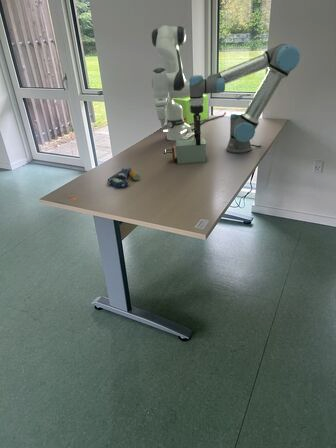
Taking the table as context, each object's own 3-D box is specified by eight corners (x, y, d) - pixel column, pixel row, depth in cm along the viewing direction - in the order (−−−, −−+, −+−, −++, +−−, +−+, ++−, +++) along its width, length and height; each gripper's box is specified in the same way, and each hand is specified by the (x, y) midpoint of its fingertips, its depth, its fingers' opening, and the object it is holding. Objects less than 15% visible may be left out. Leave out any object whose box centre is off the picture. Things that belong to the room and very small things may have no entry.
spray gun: (146, 174, 192) (124, 172, 198) (145, 167, 190) (123, 165, 196) (127, 190, 176) (104, 187, 183) (125, 183, 174) (102, 180, 181)
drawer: (164, 162, 204) (163, 148, 199) (164, 157, 212) (163, 143, 207) (199, 160, 203) (199, 145, 198) (198, 155, 211) (198, 140, 206)
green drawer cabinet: (177, 163, 203) (176, 145, 198) (177, 157, 212) (176, 140, 207) (206, 161, 203) (205, 143, 197) (204, 155, 212) (204, 138, 206)
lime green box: (191, 115, 302) (190, 88, 290) (208, 118, 288) (208, 90, 276) (170, 121, 289) (168, 93, 277) (187, 125, 275) (185, 95, 263)
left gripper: (157, 96, 200) (159, 120, 207) (154, 103, 183) (156, 129, 190) (168, 96, 199) (170, 119, 206) (165, 102, 182) (167, 128, 189)
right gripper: (188, 101, 201) (190, 135, 212) (191, 110, 180) (192, 148, 191) (201, 100, 201) (201, 135, 212) (205, 109, 180) (205, 147, 191)
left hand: (163, 124), depth 198 cm, fingers open, 8 cm apart
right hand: (197, 141), depth 202 cm, fingers open, 13 cm apart
